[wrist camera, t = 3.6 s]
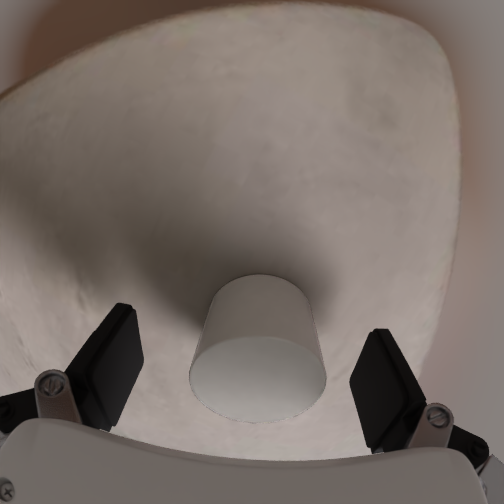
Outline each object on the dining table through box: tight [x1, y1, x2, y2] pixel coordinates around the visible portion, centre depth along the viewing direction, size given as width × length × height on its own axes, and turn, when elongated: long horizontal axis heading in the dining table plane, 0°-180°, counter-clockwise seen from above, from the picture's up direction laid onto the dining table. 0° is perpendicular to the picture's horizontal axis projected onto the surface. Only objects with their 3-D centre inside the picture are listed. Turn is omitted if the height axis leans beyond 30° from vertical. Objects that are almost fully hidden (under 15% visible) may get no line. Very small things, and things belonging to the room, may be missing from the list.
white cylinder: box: [189, 274, 327, 423], centre depth 10 cm, size 5×5×4 cm
